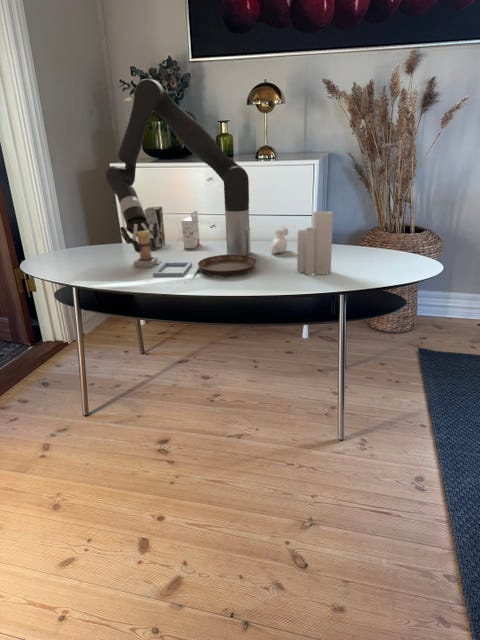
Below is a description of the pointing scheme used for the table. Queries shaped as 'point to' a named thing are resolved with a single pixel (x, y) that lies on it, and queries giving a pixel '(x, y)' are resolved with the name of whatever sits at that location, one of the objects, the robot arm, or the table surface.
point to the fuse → (144, 245)
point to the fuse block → (146, 263)
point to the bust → (279, 241)
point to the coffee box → (156, 217)
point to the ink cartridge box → (190, 231)
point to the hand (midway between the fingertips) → (146, 250)
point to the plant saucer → (227, 265)
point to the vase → (316, 245)
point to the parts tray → (172, 274)
